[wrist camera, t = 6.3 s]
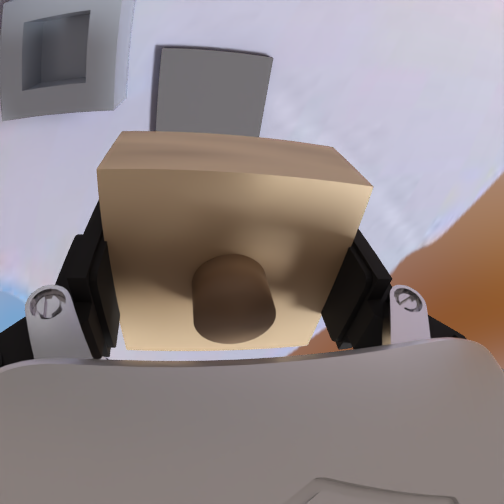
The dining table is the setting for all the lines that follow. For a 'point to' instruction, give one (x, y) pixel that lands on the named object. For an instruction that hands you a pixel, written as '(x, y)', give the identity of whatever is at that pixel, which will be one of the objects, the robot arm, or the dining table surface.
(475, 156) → the dining table surface
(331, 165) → the lid
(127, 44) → the grey square container
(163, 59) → the grey rectangular plate
